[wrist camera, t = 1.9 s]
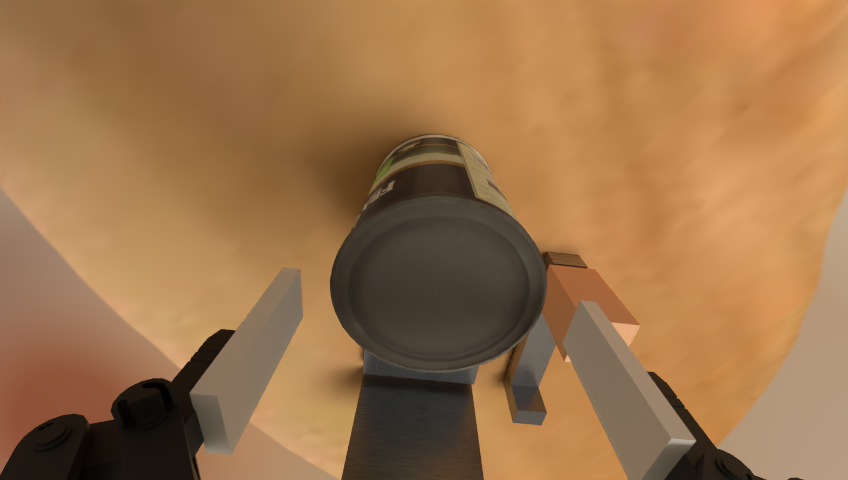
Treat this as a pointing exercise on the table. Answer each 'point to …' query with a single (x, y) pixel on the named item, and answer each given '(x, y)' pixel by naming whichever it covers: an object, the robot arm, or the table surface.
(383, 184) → the coffee can
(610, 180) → the table surface
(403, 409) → the tray
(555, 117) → the table surface
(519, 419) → the rail
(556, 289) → the lever knob
